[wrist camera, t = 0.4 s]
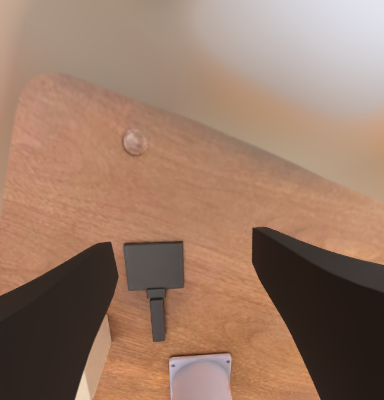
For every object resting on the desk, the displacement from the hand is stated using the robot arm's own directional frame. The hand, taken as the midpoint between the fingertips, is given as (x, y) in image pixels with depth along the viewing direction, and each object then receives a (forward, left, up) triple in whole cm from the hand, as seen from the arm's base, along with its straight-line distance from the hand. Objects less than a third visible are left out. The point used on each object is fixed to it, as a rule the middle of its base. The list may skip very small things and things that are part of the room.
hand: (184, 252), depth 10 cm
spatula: (-11, +3, -10) cm, 15 cm away
